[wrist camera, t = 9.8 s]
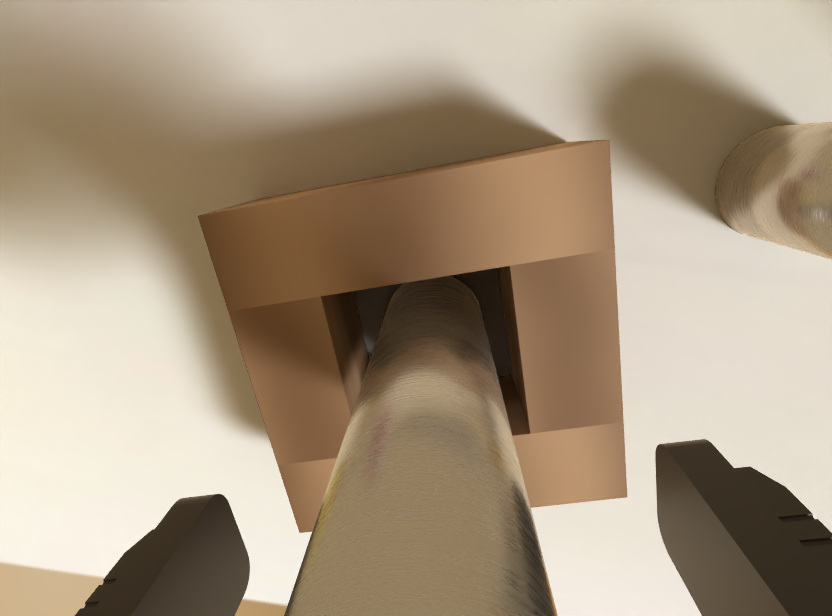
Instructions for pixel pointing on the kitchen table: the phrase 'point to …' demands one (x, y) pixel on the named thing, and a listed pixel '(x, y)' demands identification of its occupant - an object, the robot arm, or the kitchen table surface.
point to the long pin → (426, 479)
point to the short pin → (781, 187)
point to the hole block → (424, 259)
